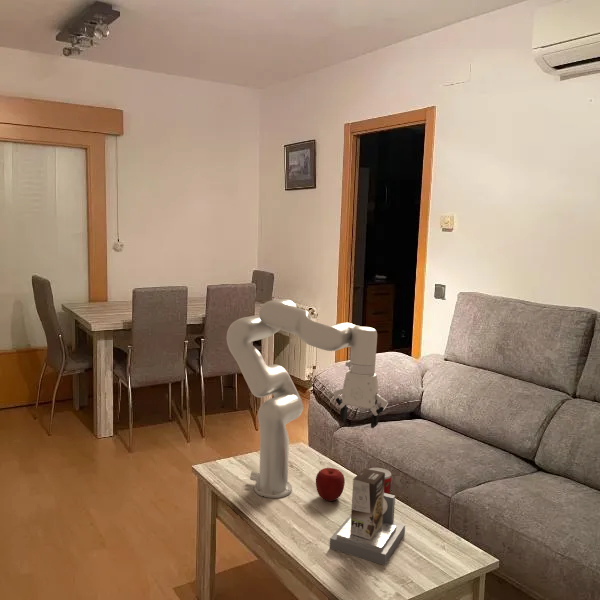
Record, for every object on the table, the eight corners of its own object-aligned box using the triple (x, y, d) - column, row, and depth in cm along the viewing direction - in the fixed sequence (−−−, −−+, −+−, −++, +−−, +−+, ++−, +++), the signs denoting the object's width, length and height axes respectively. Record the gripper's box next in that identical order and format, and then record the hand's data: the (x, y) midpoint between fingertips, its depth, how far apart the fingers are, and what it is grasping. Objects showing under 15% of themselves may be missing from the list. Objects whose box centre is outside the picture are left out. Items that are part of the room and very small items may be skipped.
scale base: (329, 548, 159) (331, 510, 158) (353, 520, 175) (355, 485, 174) (384, 565, 152) (387, 526, 151) (404, 534, 168) (406, 498, 167)
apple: (337, 490, 194) (338, 462, 193) (348, 503, 185) (350, 474, 184) (311, 493, 191) (312, 465, 190) (321, 507, 182) (322, 477, 181)
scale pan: (336, 538, 159) (336, 534, 159) (353, 517, 171) (353, 514, 170) (381, 551, 153) (381, 547, 153) (396, 529, 165) (396, 525, 165)
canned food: (389, 512, 181) (390, 478, 179) (363, 508, 182) (365, 475, 181) (390, 501, 188) (392, 469, 187) (365, 497, 190) (367, 466, 188)
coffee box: (371, 540, 156) (374, 484, 154) (349, 534, 159) (352, 478, 157) (383, 526, 164) (386, 472, 162) (362, 519, 167) (364, 467, 165)
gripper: (330, 366, 172) (327, 421, 174) (385, 376, 164) (381, 433, 166) (340, 361, 179) (337, 414, 181) (394, 370, 171) (390, 425, 173)
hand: (358, 423), depth 174 cm, fingers open, 9 cm apart
